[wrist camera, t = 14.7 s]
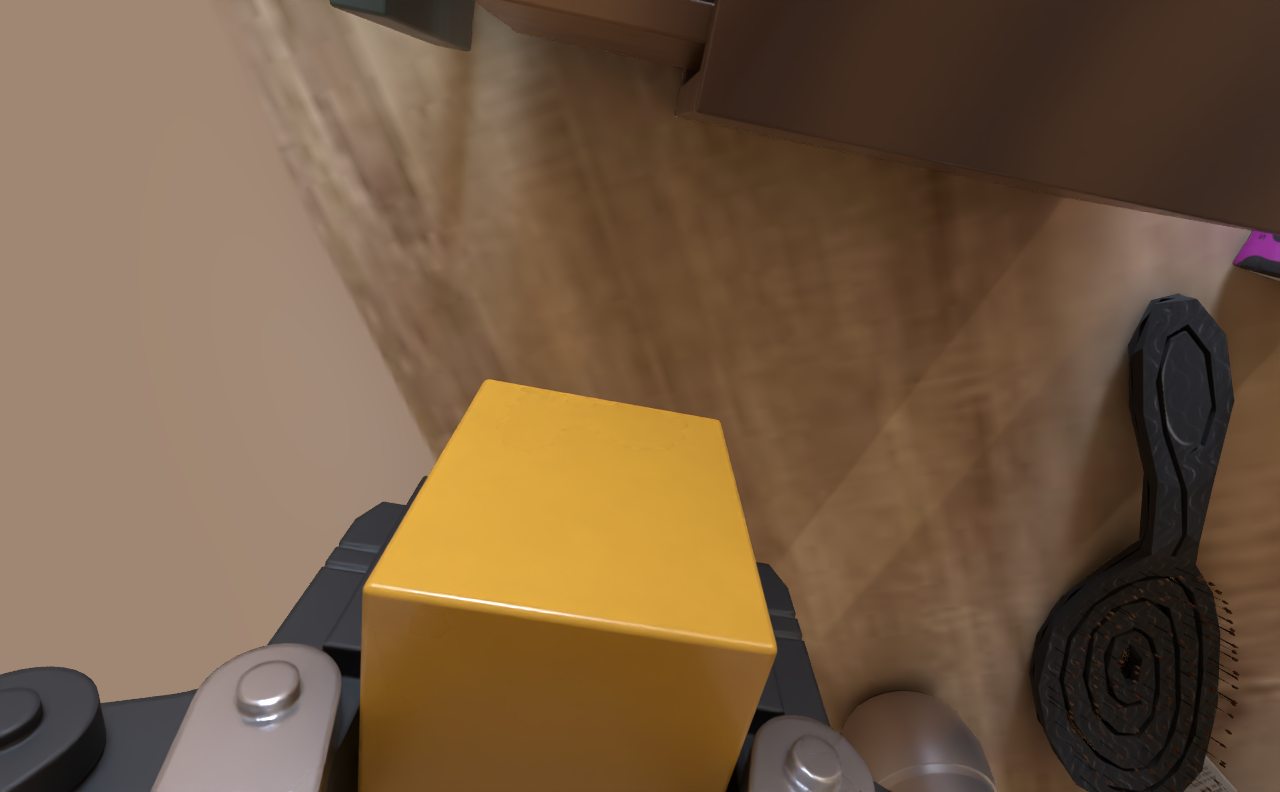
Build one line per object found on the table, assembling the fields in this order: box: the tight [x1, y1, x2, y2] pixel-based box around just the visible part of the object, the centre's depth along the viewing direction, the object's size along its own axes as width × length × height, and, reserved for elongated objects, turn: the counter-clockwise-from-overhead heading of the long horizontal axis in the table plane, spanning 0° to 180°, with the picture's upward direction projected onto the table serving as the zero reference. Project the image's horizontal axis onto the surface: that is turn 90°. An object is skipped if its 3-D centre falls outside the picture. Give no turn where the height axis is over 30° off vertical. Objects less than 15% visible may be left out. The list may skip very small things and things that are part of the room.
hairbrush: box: [1030, 294, 1239, 792], centre depth 28 cm, size 8×4×25 cm
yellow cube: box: [358, 380, 777, 792], centre depth 9 cm, size 4×5×5 cm, turn 169°
